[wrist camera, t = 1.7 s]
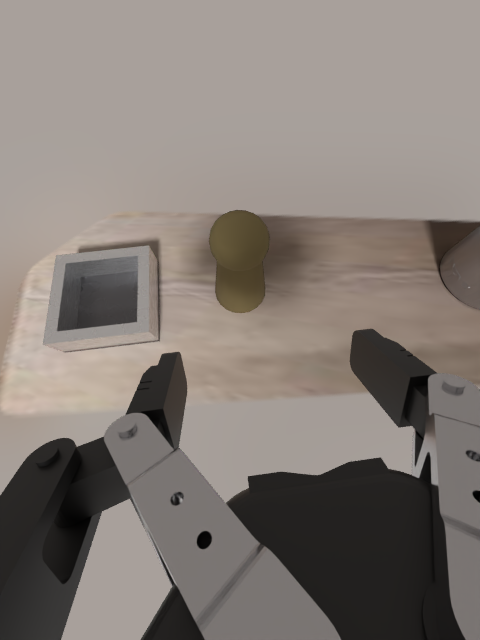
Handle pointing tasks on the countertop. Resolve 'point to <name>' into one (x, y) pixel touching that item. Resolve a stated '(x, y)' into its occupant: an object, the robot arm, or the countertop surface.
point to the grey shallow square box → (103, 300)
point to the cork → (239, 259)
